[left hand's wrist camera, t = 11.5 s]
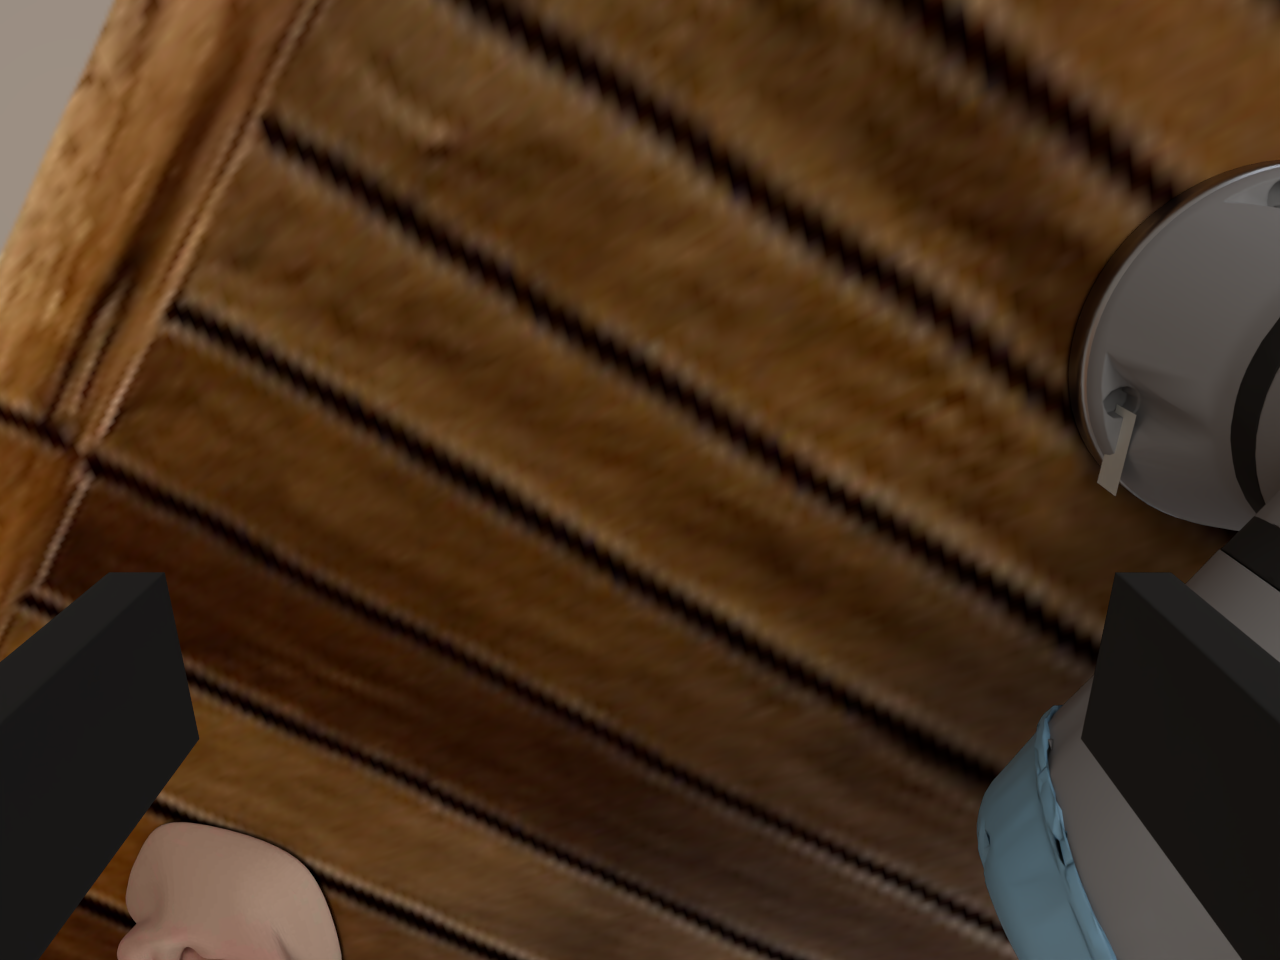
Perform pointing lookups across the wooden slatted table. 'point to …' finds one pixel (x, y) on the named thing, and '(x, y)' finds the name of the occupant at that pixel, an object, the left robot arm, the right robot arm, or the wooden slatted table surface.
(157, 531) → the wooden slatted table surface
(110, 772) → the left robot arm
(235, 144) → the wooden slatted table surface
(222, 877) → the anatomical model
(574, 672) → the wooden slatted table surface
